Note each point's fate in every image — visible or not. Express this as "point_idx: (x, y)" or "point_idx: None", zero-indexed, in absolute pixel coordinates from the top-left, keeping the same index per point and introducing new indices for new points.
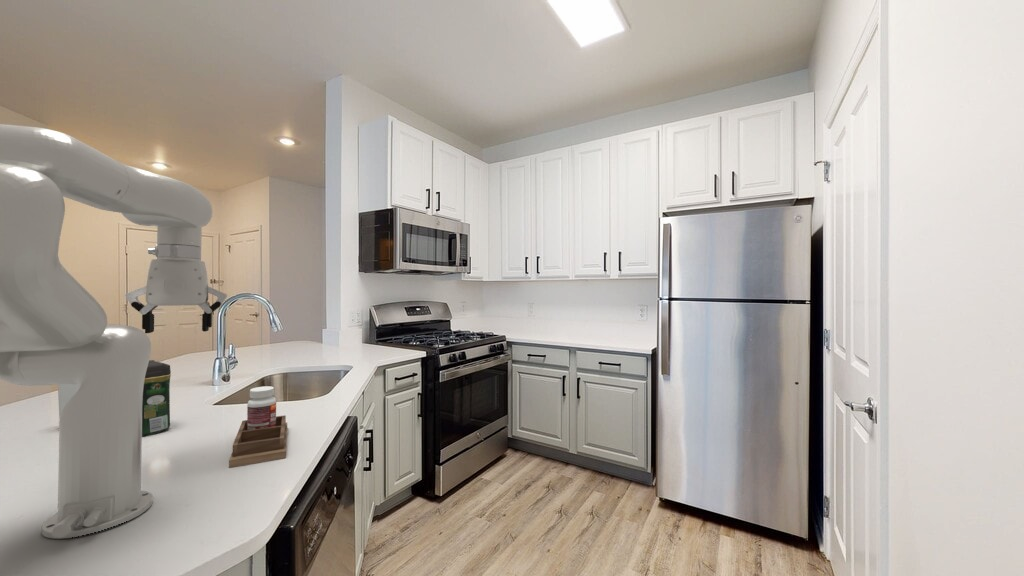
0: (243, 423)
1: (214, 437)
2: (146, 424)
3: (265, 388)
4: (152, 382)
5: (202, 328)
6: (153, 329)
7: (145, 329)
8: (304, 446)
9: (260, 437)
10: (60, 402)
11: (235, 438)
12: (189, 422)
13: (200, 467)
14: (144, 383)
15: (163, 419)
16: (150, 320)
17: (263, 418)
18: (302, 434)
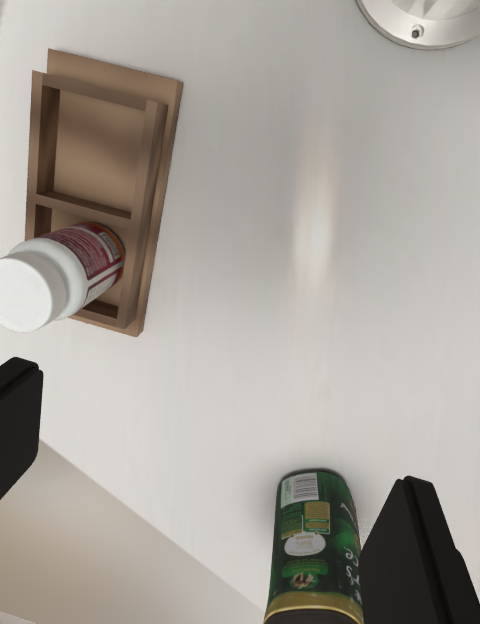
0: (123, 300)
1: (197, 352)
2: (324, 489)
3: (5, 293)
4: (313, 592)
5: (27, 378)
6: (363, 565)
7: (436, 498)
8: (11, 115)
9: (97, 204)
10: None
11: (147, 167)
12: (238, 507)
13: (239, 140)
14: (334, 594)
15: (289, 495)
16: (415, 590)
17: (65, 230)
18: (11, 221)
